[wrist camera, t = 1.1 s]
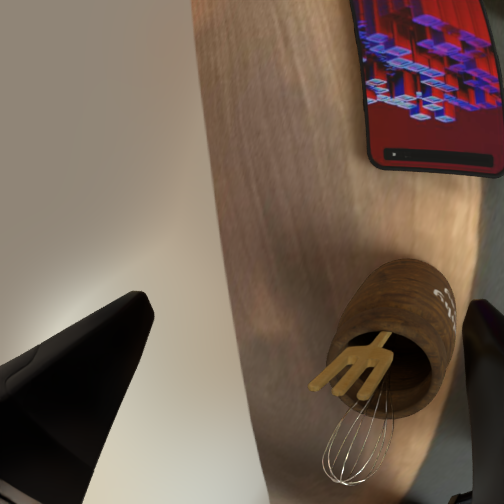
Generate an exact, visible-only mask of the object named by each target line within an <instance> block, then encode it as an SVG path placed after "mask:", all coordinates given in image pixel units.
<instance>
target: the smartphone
mask: <svg viewBox="0 0 504 504" xmlns="http://www.w3.org/2000/svg"><path fill="white" fill-rule="evenodd" d="M350 6H351V11H352V16H353V22H354V31H355V38H356V44H357V48H358V55H359V63H360V71H361V79H362V89H363V105H364V111H365V124H366V141H367V155H368V158H369V160H370V162H371V163H372V164H373V165H374V166H375V167H377V168H379V169H381V170H393V171H413V172H429V173H443V174H455V175H466V176H477V177H486V178H499V177H501V176H503V175H504V88H503V83H502V82H503V80H502V74H501V69H500V64H499V59H498V55H497V52H496V47H495V43H494V39H493V35H492V31H491V27H490V24H489V20H488V17H487V13H486V10H485V7H484V4H483V1H482V0H350Z"/></svg>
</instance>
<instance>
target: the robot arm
mask: <svg viewBox="0 0 504 504" xmlns="http://www.w3.org/2000/svg"><path fill="white" fill-rule="evenodd" d="M153 321H154V311H153V308H152V306H151V304H150V302H149V300H148V297H147V295H146V294H145V293H144V292H142V291H131V292H129V293H127V294H126V295H124V296H122V297H120V298H118V299H117V300H115V301H113V302H111V303H110V304H108V305H106V306H105V307H103V308H101V309H99V310H97V311H95V312H94V313H92V314H90V315H89V316H87V317H85V318H83V319H82V320H80V321H78V322H76V323H75V324H73V325H71V326H70V327H68V328H66V329H64V330H63V331H61V332H60V333H57V334H56V335H54V336H52V337H51V338H49V339H47V340H46V341H44V342H42V343H41V344H40V345H37V346H35V347H34V348H32V349H30V350H29V351H27V352H25V353H23V354H22V355H20V356H18V357H16V358H14V359H12V360H10V361H9V362H7V363H5V364H3V365H1V366H0V504H82V503H83V500H84V497H85V494H86V492H87V489H88V486H89V483H90V481H91V478H92V475H93V473H94V469H95V467H96V464H97V462H98V459H99V457H100V454H101V451H102V449H103V447H104V444H105V442H106V439H107V436H108V434H109V432H110V429H111V427H112V424H113V422H114V420H115V417H116V415H117V412H118V410H119V407H120V405H121V403H122V401H123V398H124V396H125V394H126V391H127V389H128V387H129V384H130V382H131V380H132V378H133V375H134V373H135V371H136V369H137V366H138V364H139V362H140V359H141V356H142V353H143V350H144V347H145V344H146V342H147V339H148V336H149V333H150V330H151V327H152V324H153ZM462 335H463V345H464V358H465V376H466V388H467V397H468V405H469V414H470V425H471V438H472V460H473V490H472V491H470V492H467V493H464V494H457V495H454V496H452V497H451V499H450V501H449V502H448V504H504V315H503V314H502V313H500V312H499V311H498V310H497V309H496V308H495V307H494V306H493V305H492V304H491V303H489V302H488V301H487V300H486V299H474V300H472V301H471V302H470V304H469V307H468V310H467V313H466V316H465V319H464V322H463V326H462Z"/></svg>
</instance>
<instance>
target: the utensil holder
mask: <svg viewBox="0 0 504 504" xmlns="http://www.w3.org/2000/svg"><path fill="white" fill-rule="evenodd" d="M455 337H456V304H455V298H454V295H453V292H452V289H451V287H450V285H449V283H448V281H447V280H446V278H445V277H444V276H443V275H442V274H441V272H439V271H438V270H437V269H436V268H434V267H433V266H431V265H429V264H427V263H425V262H422V261H419V260H414V259H400V260H395V261H392V262H389V263H387V264H384V265H383V266H381V267H379V268H378V269H377V270H375V271H374V272H373V273H372V274H371V275H370V276H369V277H368V278H367V279H366V281H365V282H364V283H363V284H362V286H361V287H360V288H359V290H358V291H357V293H356V294H355V295H354V297H353V298H352V300H351V301H350V303H349V304H348V306H347V307H346V309H345V311H344V313H343V315H342V317H341V319H340V322H339V326H338V329H337V333H336V335H335V337H334V338H333V341H332V343H331V346H330V349H329V352H328V355H327V361H326V368H325V369H324V370H323V371H322V372H321V373H320V374H319V375H318V376H317V377H316V378H315V379H314V380H312V381H311V382H310V383H309V384H308V389H309V391H313V392H315V391H319V390H320V389H321V388H322V387H323V386H325V385H326V384H327V383H328V382H330V385H331V387H332V394H333V395H334V396H338V397H339V398H340V399H341V400H342V401H343V402H344V403H345V404H346V405H348V406H349V407H350V408H351V409H353V410H355V411H357V412H359V413H360V414H364V416H365V415H366V416H369V417H373V419H372V423H373V420H374V418H378V419H385V422H386V424H387V419H393V428H394V419H398V418H403V417H407V416H410V415H412V414H414V413H416V412H418V411H420V410H422V409H423V408H424V407H426V406H427V405H428V404H429V403H430V402H431V401H432V400H433V398H434V397H435V396H436V394H437V392H438V390H439V388H440V386H441V384H442V381H443V379H444V376H445V372H446V368H447V366H448V364H449V362H450V360H451V357H452V354H453V350H454V345H455ZM350 408H349V409H348V411H347V412H346V414H345V415H344V417H343V418H342V419H341V421H340V422H341V423H342V421H343V419H344V418H345V416H346V415H347V413H348V412H349V411H350V410H351V409H350ZM360 414H359V416H360ZM359 416H358V417H357V419H358V418H359ZM364 416H363V418H362V420H361V423H362V421H363V419H364ZM357 419H356V420H355V422H356V421H357ZM340 422H339V424H340V425H341V423H340ZM355 422H354V424H355ZM385 422H384V425H383V428H382V431H381V434H382V432H383V429H384V426H385V433H386V424H385ZM361 423H360V425H359V427H358V430H359V428H360V426H361ZM372 423H371V426H372ZM339 424H338V425H337V427H338V426H339V427H338V429H337V427H336V429H337V432H338V430H339V428H340V425H339ZM354 424H353V425H354ZM353 425H352V427H353ZM371 426H370V429H371ZM352 427H351V429H352ZM393 428H392V434H393ZM336 429H335V431H336ZM351 429H350V430H351ZM370 429H369V432H370ZM350 430H349V432H350ZM358 430H357V432H356V434H355V437H354V439H353V441H352V444H351V446H350V449H351V447H352V445H353V442H354V440H355V438H356V435H357V433H358ZM335 431H334V433H335ZM337 432H336V434H337ZM349 432H348V434H349ZM369 432H368V434H367V437H368V435H369ZM334 433H333V435H334ZM385 433H384V438H383V442H382V446H383V443H384V439H385ZM336 434H335V436H334V438H333V440H332V443H331V445H330V448H329V453H328V464H329V468H330V471H331V476H329V475H328V473H327V472H326V470H325V468H324V455H325V453H326V450H327V448H328V446H329V444H330V441H331V439H332V437H333V435H332V437H331V439H330V441H329V443H328V445H327V447H326V450H325V452H324V455H323V460H322V463H323V469H324V471H325V473H326V474H327V475H328V476H329V477H330V478H331V479H332V481H334V480H335V481H334V482H337V483H340V482H341V485H344V484H345V485H350V486H354V485H358V484H360V483H362V482H363V481H364V480H366V479H368V478H369V477H370V476H372V475H373V474H374V473H375V472H376V471H377V470H378V468H379V467H380V465H381V463H382V461H383V459H384V457H385V454H386V452H387V450H388V447H389V444H390V441H391V438H392V434H391V438H390V441H389V444H388V447H387V449H386V452H385V454H384V456H383V459H382V461H381V463H380V465H379V467H378V468H377V469H376V470H375V472H374V473H372V474H371V472H372V470H373V468H374V466H375V464H376V461H377V459H378V457H379V454H380V452H381V449H382V446H381V449H380V451H379V454H378V456H377V459H376V461H375V463H374V465H373V468H372V470H371V471H370V473H369V475H370V474H371V475H370V476H369V475H368V476H369V477H368V476H367V477H366V478H365V479H363V480H361V481H358V482H360V483H358V482H347V481H348V480H350V479H352V478H353V477H355V476H356V475H357V474H358V473H360V472H361V471H362V469H363V468H364V467H365V466H366V465H367V463H368V462H369V460H370V459H371V457H372V455H373V453H374V451H375V449H376V447H377V444H378V442H379V439H380V437H381V434H380V436H379V439H378V441H377V444H376V446H375V448H374V451H373V453H372V455H371V457H370V458H369V460H368V461H367V463H366V464H365V465H364V467H363V468H362V469H361V470H360V471H359V472H358V473H357V474H356V475H354V476H353V477H351V478H349V477H350V476H351V474H352V472H353V470H354V468H355V466H356V463H357V461H358V459H359V457H360V455H361V452H362V450H363V448H364V445H365V443H366V440H367V437H366V440H365V442H364V445H363V447H362V450H361V452H360V454H359V457H358V459H357V461H356V463H355V465H354V467H353V469H352V471H351V473H350V475H349V477H348V479H347V480H345V481H342V474H343V470H344V466H345V463H346V460H347V457H348V455H349V452H350V449H349V451H348V454H347V456H346V459H345V462H344V465H343V469H342V473H341V479H340V480H339V479H338V478H336V477H335V475H334V474H333V472H332V469H333V466H334V463H335V461H336V459H337V457H338V455H339V452H340V450H341V448H342V446H343V444H344V442H345V440H346V438H347V436H348V434H347V436H346V438H345V440H344V442H343V444H342V446H341V448H340V450H339V452H338V454H337V456H336V458H335V461H334V463H333V465H332V468H331V467H330V462H329V455H330V449H331V446H332V444H333V441H334V439H335V437H336ZM332 475H333V476H334V477H335V478H336V479H337V480H336V479H334V478H332ZM342 483H343V484H342ZM346 483H349V484H346ZM351 483H357V484H352V485H351Z"/></svg>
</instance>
